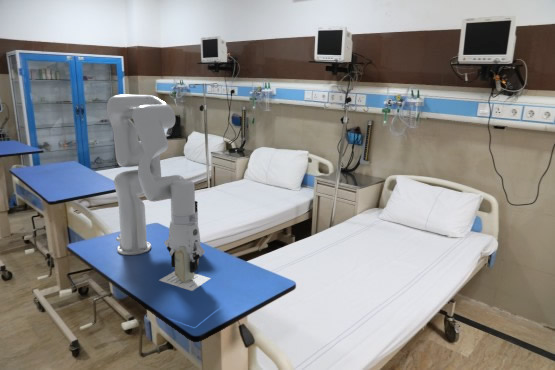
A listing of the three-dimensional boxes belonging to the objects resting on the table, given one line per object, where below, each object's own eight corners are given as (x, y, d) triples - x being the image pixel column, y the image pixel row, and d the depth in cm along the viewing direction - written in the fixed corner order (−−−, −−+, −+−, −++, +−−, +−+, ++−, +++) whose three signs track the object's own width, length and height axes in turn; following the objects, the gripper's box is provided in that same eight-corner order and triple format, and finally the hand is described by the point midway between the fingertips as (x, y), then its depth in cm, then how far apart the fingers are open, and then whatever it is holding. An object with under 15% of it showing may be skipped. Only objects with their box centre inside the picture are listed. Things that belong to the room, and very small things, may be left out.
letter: (158, 281, 132) (158, 280, 132) (179, 269, 141) (178, 268, 141) (192, 291, 126) (192, 290, 126) (210, 279, 134) (210, 278, 134)
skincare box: (174, 275, 134) (173, 241, 131) (186, 271, 137) (185, 238, 134) (183, 282, 129) (182, 248, 126) (195, 278, 132) (194, 244, 129)
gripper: (212, 219, 127) (212, 270, 132) (170, 210, 135) (172, 258, 139) (197, 226, 121) (198, 279, 125) (154, 216, 129) (156, 266, 133)
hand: (184, 268), depth 132 cm, fingers closed on skincare box, 7 cm apart
